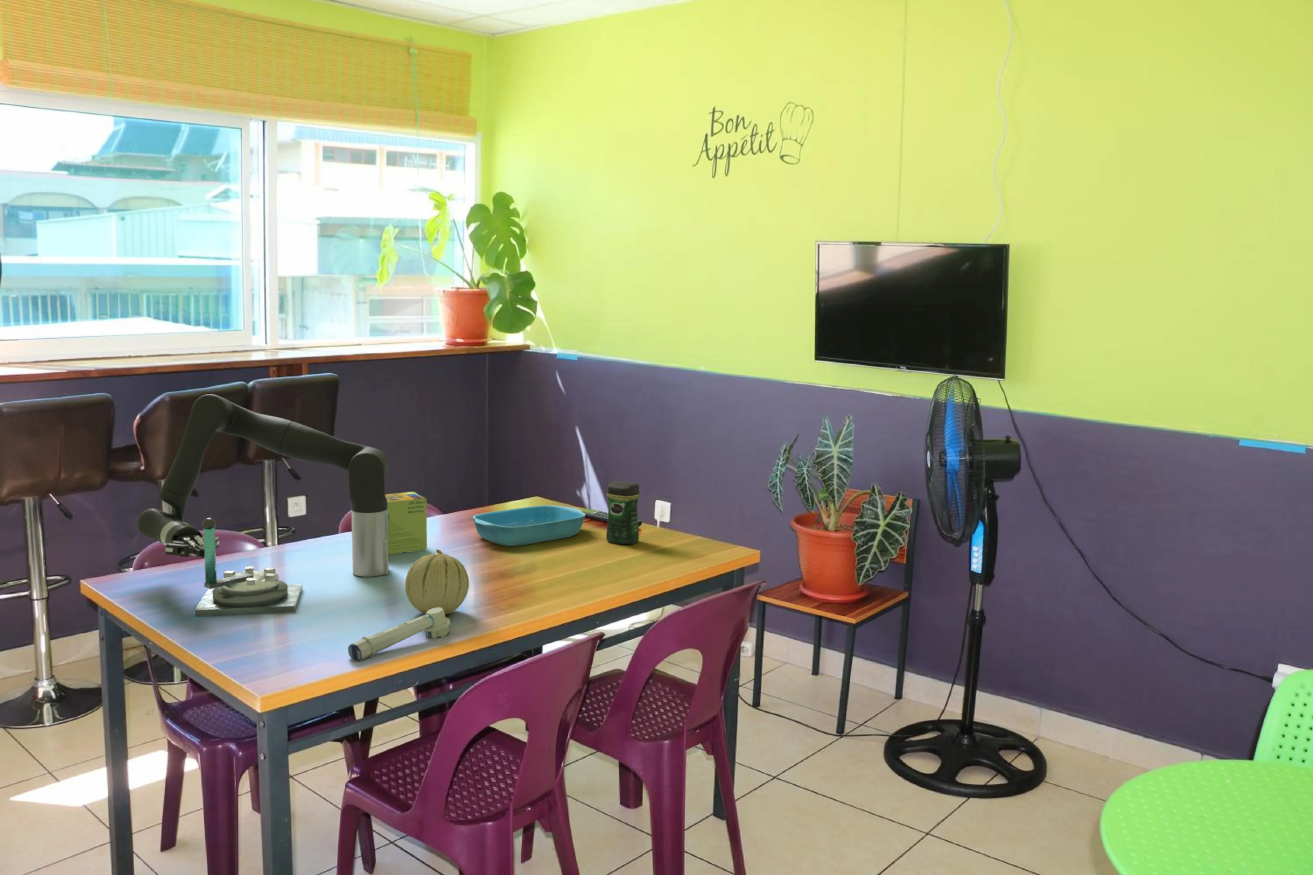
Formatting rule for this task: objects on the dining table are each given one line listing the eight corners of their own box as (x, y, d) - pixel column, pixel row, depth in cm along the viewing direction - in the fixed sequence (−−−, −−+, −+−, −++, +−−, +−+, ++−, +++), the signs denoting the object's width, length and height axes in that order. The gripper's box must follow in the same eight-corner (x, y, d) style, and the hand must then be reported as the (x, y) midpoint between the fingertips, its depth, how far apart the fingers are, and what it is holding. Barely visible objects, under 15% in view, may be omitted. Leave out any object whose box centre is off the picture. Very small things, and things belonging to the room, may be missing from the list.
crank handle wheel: (259, 577, 270) (256, 502, 268) (289, 587, 263) (287, 510, 260) (190, 593, 256) (187, 514, 253) (221, 604, 248) (217, 523, 246)
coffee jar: (642, 541, 330) (644, 481, 328) (629, 546, 324) (630, 485, 321) (615, 536, 335) (616, 477, 332) (601, 541, 328) (602, 481, 326)
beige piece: (344, 640, 226) (437, 598, 245) (349, 669, 228) (440, 626, 247) (359, 646, 223) (452, 603, 242) (364, 675, 225) (456, 631, 243)
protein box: (427, 550, 314) (427, 497, 312) (376, 556, 306) (375, 503, 303) (414, 542, 323) (413, 491, 320) (363, 548, 314) (362, 496, 312)
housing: (302, 589, 273) (302, 576, 272) (294, 611, 256) (294, 597, 255) (209, 593, 268) (208, 579, 268) (194, 616, 251) (194, 601, 250)
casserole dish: (555, 521, 354) (555, 500, 353) (599, 535, 338) (599, 512, 337) (458, 538, 329) (458, 515, 328) (500, 553, 313) (500, 529, 312)
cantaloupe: (412, 626, 247) (411, 563, 245) (400, 608, 260) (399, 547, 258) (475, 620, 253) (475, 557, 251) (461, 601, 266) (460, 542, 264)
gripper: (151, 526, 260) (174, 541, 248) (208, 519, 269) (233, 533, 256) (153, 557, 262) (176, 573, 249) (209, 549, 270) (234, 564, 257)
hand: (205, 553), depth 252 cm, fingers closed
